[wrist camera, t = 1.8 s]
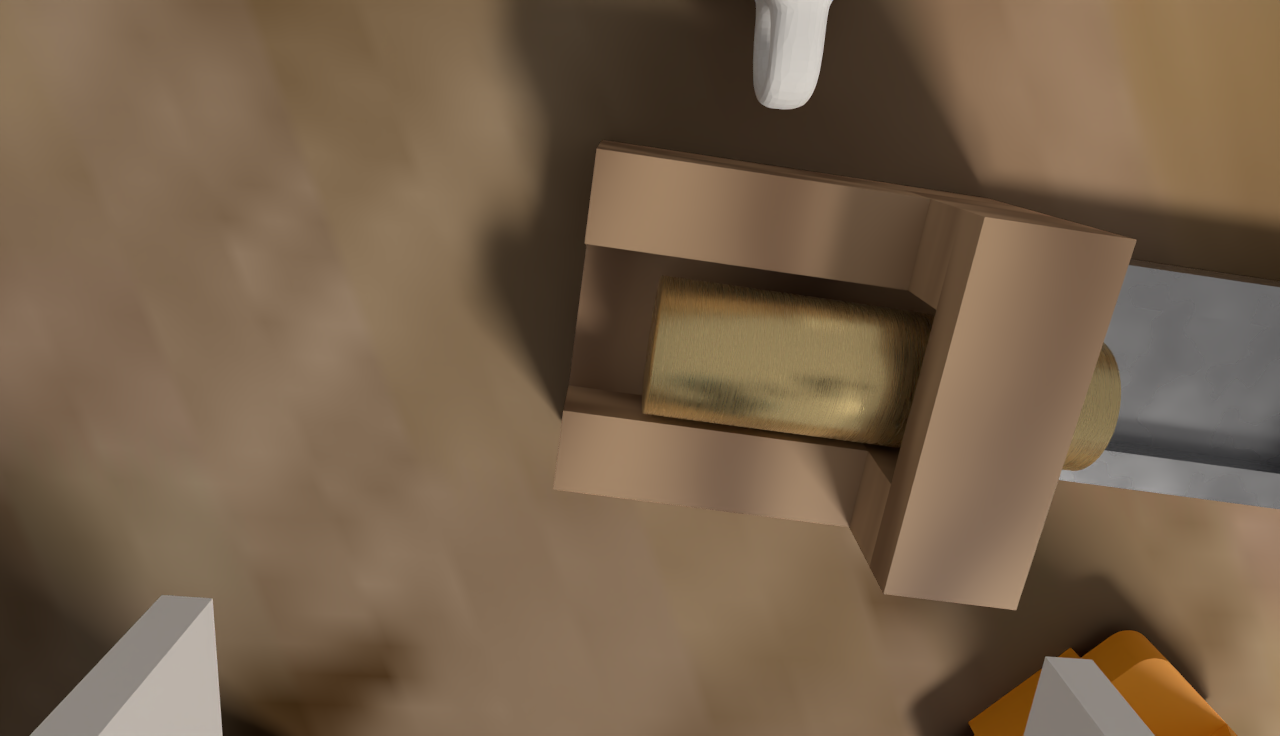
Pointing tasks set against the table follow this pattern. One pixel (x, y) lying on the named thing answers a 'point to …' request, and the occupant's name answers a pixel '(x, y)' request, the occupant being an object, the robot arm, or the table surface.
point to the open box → (867, 274)
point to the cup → (788, 50)
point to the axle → (812, 366)
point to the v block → (1194, 387)
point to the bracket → (1138, 674)
